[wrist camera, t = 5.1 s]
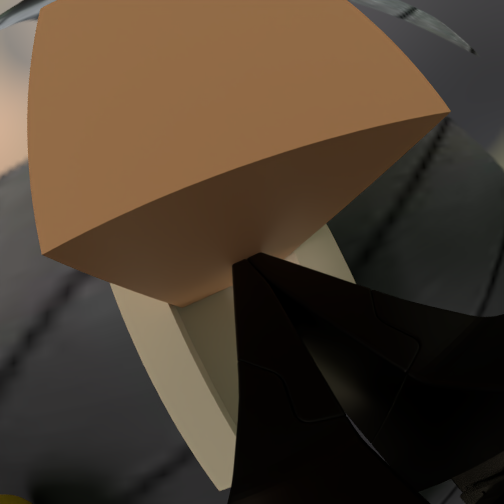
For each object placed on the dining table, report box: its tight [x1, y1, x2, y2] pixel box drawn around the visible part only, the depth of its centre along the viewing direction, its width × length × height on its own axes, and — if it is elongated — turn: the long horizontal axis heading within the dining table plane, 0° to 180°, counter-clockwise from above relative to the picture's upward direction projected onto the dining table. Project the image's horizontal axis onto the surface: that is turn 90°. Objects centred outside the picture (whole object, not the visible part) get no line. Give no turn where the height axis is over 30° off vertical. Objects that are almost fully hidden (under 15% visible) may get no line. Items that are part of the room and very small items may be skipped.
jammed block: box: [27, 0, 451, 308], centre depth 9 cm, size 5×5×12 cm
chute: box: [110, 224, 356, 491], centre depth 14 cm, size 19×10×4 cm, turn 25°
